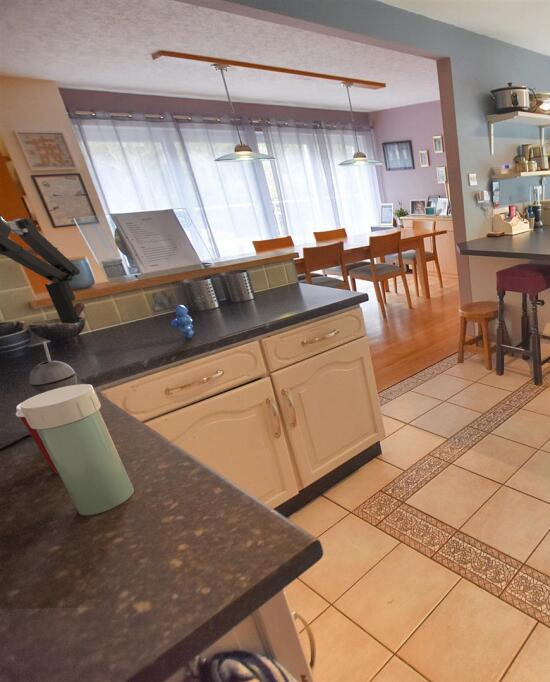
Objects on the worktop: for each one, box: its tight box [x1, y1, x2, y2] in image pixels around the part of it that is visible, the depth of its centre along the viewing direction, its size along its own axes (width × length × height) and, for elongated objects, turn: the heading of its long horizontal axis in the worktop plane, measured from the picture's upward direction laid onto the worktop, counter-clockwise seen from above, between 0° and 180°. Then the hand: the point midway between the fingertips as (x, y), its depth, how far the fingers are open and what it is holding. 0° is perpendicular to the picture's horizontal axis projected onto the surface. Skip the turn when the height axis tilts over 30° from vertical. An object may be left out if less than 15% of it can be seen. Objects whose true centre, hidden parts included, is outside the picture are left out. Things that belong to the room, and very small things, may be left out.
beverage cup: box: [29, 340, 78, 394], centre depth 96 cm, size 7×7×20 cm
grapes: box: [169, 304, 195, 340], centre depth 157 cm, size 12×7×12 cm, turn 32°
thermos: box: [36, 409, 135, 516], centre depth 70 cm, size 7×7×19 cm
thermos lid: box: [20, 383, 102, 429], centre depth 67 cm, size 8×8×4 cm
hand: (20, 337), depth 64 cm, fingers open, 13 cm apart
